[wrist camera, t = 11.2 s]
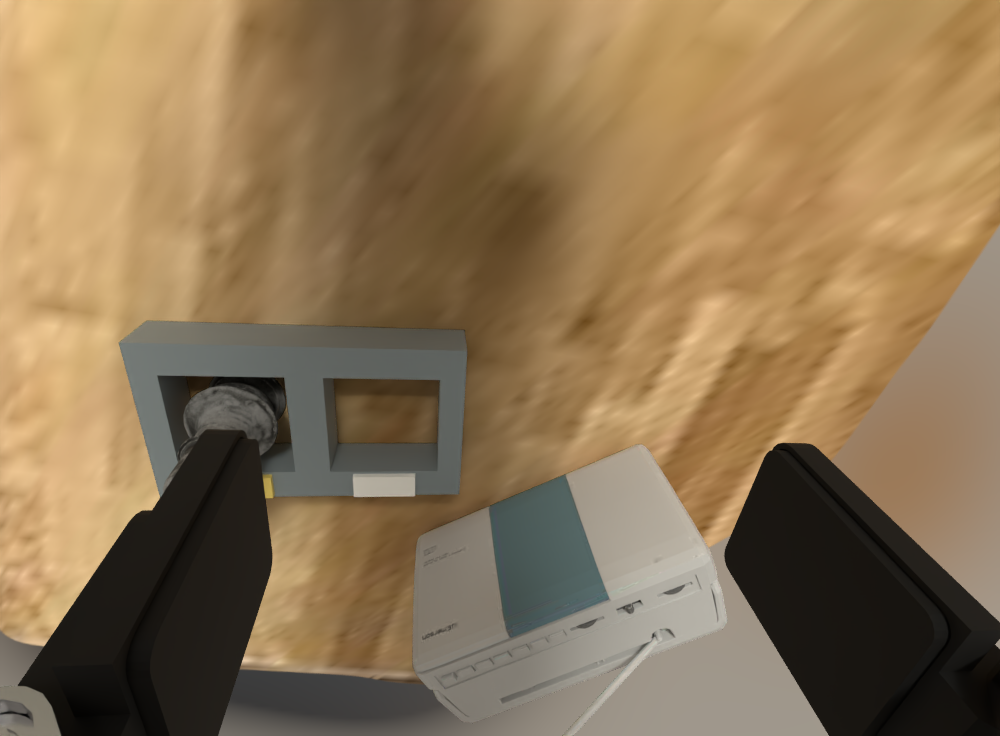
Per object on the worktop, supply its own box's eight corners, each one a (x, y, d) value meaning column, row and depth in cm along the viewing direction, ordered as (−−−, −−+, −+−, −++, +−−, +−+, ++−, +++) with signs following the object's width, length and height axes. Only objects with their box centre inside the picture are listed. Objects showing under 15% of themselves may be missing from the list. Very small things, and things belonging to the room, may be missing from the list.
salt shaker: (295, 372, 38) (242, 480, 27) (284, 438, 40) (231, 561, 30) (207, 353, 36) (114, 459, 26) (201, 423, 39) (114, 546, 28)
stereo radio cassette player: (638, 428, 44) (777, 655, 26) (663, 496, 47) (801, 735, 30) (411, 524, 46) (398, 795, 28) (453, 582, 49) (465, 853, 32)
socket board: (146, 320, 35) (115, 345, 32) (464, 330, 38) (467, 353, 34) (181, 467, 40) (157, 501, 37) (457, 465, 43) (459, 497, 40)
